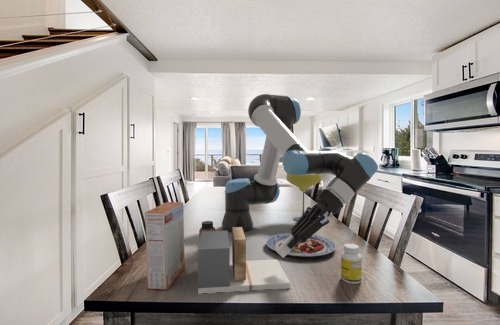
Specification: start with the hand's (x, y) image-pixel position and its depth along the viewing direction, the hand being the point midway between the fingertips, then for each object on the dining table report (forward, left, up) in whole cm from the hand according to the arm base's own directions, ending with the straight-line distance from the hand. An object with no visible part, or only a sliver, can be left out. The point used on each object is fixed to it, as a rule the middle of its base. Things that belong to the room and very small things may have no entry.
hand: (279, 254), depth 79 cm
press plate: (-9, -8, -4) cm, 13 cm away
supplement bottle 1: (-30, +2, -7) cm, 30 cm away
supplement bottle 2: (+18, +8, -7) cm, 21 cm away
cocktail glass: (-19, +67, -7) cm, 70 cm away
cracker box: (-27, -19, -7) cm, 33 cm away
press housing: (-9, -7, -6) cm, 13 cm away
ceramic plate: (-4, +25, -7) cm, 26 cm away
